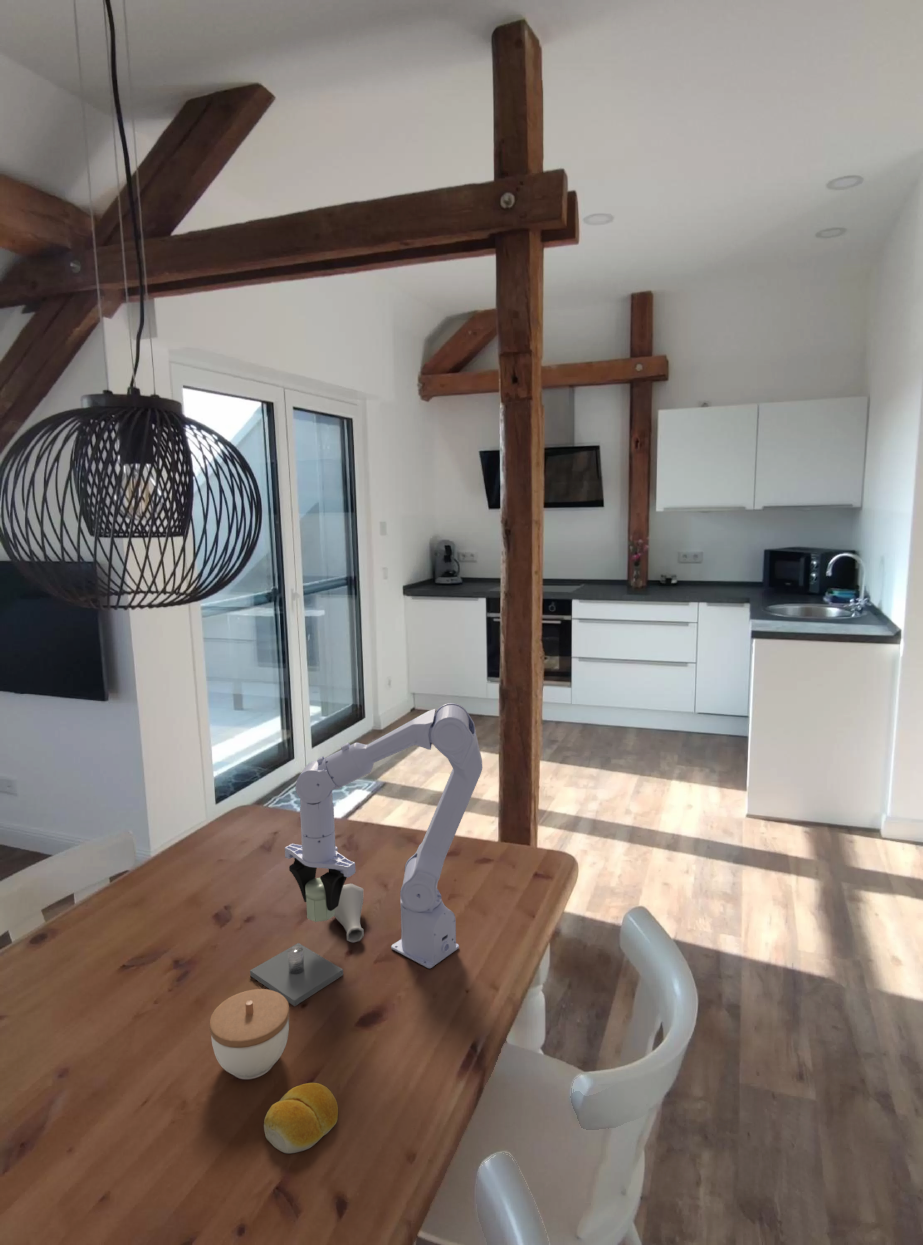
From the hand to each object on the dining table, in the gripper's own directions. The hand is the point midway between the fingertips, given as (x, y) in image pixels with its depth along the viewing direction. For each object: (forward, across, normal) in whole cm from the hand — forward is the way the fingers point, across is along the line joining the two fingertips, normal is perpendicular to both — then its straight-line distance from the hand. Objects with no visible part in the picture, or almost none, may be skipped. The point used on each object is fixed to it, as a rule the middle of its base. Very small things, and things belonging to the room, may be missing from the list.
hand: (321, 903), depth 128 cm
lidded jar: (+9, -10, +26) cm, 29 cm away
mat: (+8, -1, +8) cm, 12 cm away
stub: (+8, -1, +8) cm, 12 cm away
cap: (+2, 0, 0) cm, 2 cm away
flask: (+5, +3, -10) cm, 12 cm away
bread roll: (+9, -23, +30) cm, 39 cm away
